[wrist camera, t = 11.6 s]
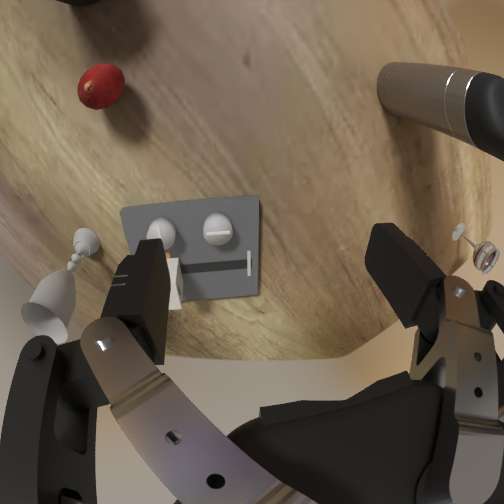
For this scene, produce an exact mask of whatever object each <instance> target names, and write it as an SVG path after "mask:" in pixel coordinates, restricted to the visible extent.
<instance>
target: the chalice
mask: <svg viewBox="0 0 504 504" xmlns="http://www.w3.org/2000/svg"><path fill="white" fill-rule="evenodd" d="M73 247H74V250H75V252H76V254H73V255H72V261H71V262H69V263H68V268H67V269H60V270H58V271H56V272H54V273H51V274H50V275H48V276H47V277H45V278H44V279H42V280H41V281H40V283H39V285H38V286H37V288H36V290H35V292H34V294H33V296H32V298H31V299H30V301H29V302H27V303H26V304H23V306H22V308H21V314H22V317H23V320H24V322H25V323H26V325H27V326H28V327H29V328H30V329H31V330H32V331H33V332H34V333H35V334H36V335H37V336H39V335H47V336H49V337H51V338H52V339H53V340H54V342H55V343H58V344H60V343H63V342H65V341H66V340H67V337H68V332H67V327H68V324H69V321H70V319H71V316H72V314H73V311H74V308H75V300H76V291H75V280H74V276H73V274H72V272H73V271H75V270H76V269H77V267H76V264H79V263H80V262H81V256H83V257H88V256H90V255H92V254H93V253H96V252H97V251H98V250H99V247H100V241H99V238H98V236H97V235H96V233H95V232H93V231H92V230H90V229H88V228H80V229H78V230H77V231H76V232H75V234H74V243H73Z"/></svg>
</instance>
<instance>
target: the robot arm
mask: <svg viewBox="0 0 504 504" xmlns="http://www.w3.org/2000/svg"><path fill="white" fill-rule="evenodd" d="M377 91H378V95H379V98H380V101H381V103H382V104H383V106H384V107H385V109H386V110H387V111H388V112H390V113H391V114H392V115H395V116H397V117H400V118H403V119H406V120H409V121H412V122H415V123H418V124H421V125H423V126H426V127H429V128H432V129H434V130H437V131H439V132H442V133H444V134H447V135H449V136H452V137H454V138H456V139H459V140H461V141H463V142H466V143H468V144H470V145H472V146H474V147H476V148H478V149H480V150H482V151H484V152H486V153H488V154H490V155H492V156H495V157H496V158H498V159H500V160H502V161H504V79H503V78H501V77H500V76H497V75H494V74H490V73H485V72H480V71H475V70H470V69H464V68H457V67H450V66H443V65H433V64H422V63H407V62H393V63H390V64H388V65H386V66H385V67H384V68H383V69H382V70H381V72H380V74H379V77H378V81H377ZM365 266H366V269H367V271H368V272H369V274H370V275H371V277H372V278H373V280H374V281H375V283H376V284H377V285H378V287H379V288H380V290H381V291H382V293H383V294H384V296H385V297H386V299H387V300H388V302H389V304H390V305H391V307H392V308H393V310H394V311H395V313H396V314H397V316H398V318H399V319H400V321H401V322H402V324H403V326H404V327H405V328H409V327H412V326H416V325H417V326H418V329H417V331H416V333H415V339H414V348H413V355H412V362H411V368H410V373H409V374H408V372H407V371H404V372H402V373H399V374H396V375H393V376H390V377H388V378H385V379H381V380H378V381H376V382H375V383H374V384H372V385H370V386H369V387H367V388H365V389H364V390H362V391H361V392H359V393H357V394H356V395H354V396H352V397H350V398H349V399H347V400H342V401H307V400H301V401H296V402H290V403H285V404H280V405H272V406H266V407H260V412H259V417H258V418H255V419H253V420H250V421H249V422H246V423H245V424H243V425H241V426H239V427H238V428H236V429H235V430H234V431H232V432H231V433H230V434H229V435H227V436H225V435H224V434H223V433H222V432H221V431H220V430H219V429H218V428H217V427H216V426H215V425H214V424H213V423H212V422H211V421H210V420H209V419H208V418H207V417H206V416H205V415H204V414H202V412H201V411H200V410H199V409H198V408H197V407H196V406H195V405H194V404H193V403H192V402H191V401H190V400H189V399H188V398H187V397H186V396H185V394H184V393H183V392H182V391H181V390H180V389H179V388H178V387H177V385H176V384H175V383H174V382H173V381H172V380H171V379H170V378H169V377H168V376H167V375H166V374H165V373H163V374H162V373H161V372H160V371H159V369H158V368H157V367H156V366H155V365H164V357H165V343H166V331H167V320H168V310H169V300H170V292H171V280H170V273H169V269H168V264H167V260H166V255H165V250H164V246H163V242H162V239H161V238H155V239H145V240H140V241H139V244H138V247H137V250H136V252H135V255H127V256H126V257H125V258H124V260H123V261H122V262H121V263H120V264H119V265H118V268H117V271H116V273H115V277H114V279H113V281H112V286H111V287H110V290H109V293H108V296H107V299H106V302H105V305H104V308H103V311H102V314H101V317H100V319H97V320H95V321H93V322H92V323H90V324H89V325H88V326H87V327H86V328H85V330H84V331H83V333H82V336H81V339H79V340H76V341H72V342H69V343H65V344H62V345H58V346H57V344H56V343H55V342H54V340H53V339H52V338H51V337H49V336H47V335H39V336H36V337H34V338H32V339H30V340H29V341H28V342H27V343H26V344H25V346H24V347H23V349H22V351H21V353H20V357H19V360H18V363H17V366H16V369H15V373H14V376H13V380H12V384H11V388H10V391H9V396H8V400H7V405H6V410H5V415H4V421H3V426H2V433H1V440H0V504H97V496H96V478H95V441H96V419H97V407H100V406H103V405H108V404H111V407H110V410H111V412H112V414H113V416H114V418H115V419H116V421H117V422H118V424H119V425H120V427H121V429H122V430H123V432H124V433H125V435H126V436H127V437H128V439H129V440H130V442H131V443H132V445H133V446H134V447H135V449H136V450H137V451H138V453H139V454H140V455H141V457H142V458H143V459H144V461H145V462H146V463H147V465H148V466H149V467H150V468H151V469H152V471H153V472H154V473H155V474H156V476H157V477H158V478H159V479H160V480H161V481H162V482H163V484H164V485H165V486H166V487H167V488H168V489H169V490H170V491H171V493H173V495H174V496H175V497H176V498H177V500H176V502H175V503H174V504H504V358H503V360H502V361H501V360H500V358H499V356H498V355H497V353H496V351H495V345H494V338H493V334H492V332H491V330H492V329H493V327H494V326H495V325H496V323H497V324H498V326H499V327H500V329H501V330H502V332H503V333H504V286H503V285H501V284H500V283H498V282H496V281H493V280H489V281H487V283H486V284H485V286H484V288H483V290H482V291H476V290H473V288H472V287H471V286H470V284H469V283H468V282H467V281H465V280H464V279H462V278H460V277H457V276H446V275H445V274H444V273H443V272H442V271H441V270H440V268H439V267H438V266H437V265H436V264H435V263H434V262H433V261H432V260H431V259H430V258H429V256H427V254H426V253H425V252H424V251H423V250H421V248H420V247H419V246H418V245H417V244H416V243H415V242H414V241H413V240H412V239H410V238H408V237H407V236H406V235H405V234H404V233H403V232H402V231H401V230H400V229H399V228H398V227H397V226H396V225H395V224H393V223H376V224H375V225H374V226H373V228H372V231H371V235H370V239H369V243H368V247H367V251H366V254H365Z"/></svg>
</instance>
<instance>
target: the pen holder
mask: <svg viewBox="0 0 504 504" xmlns="http://www.w3.org/2000/svg"><path fill="white" fill-rule="evenodd" d="M57 1H60V2H63V3H67V4H70V5H74V6H85V5H89V4H92V3H94V2H96V1H98V0H57Z"/></svg>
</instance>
